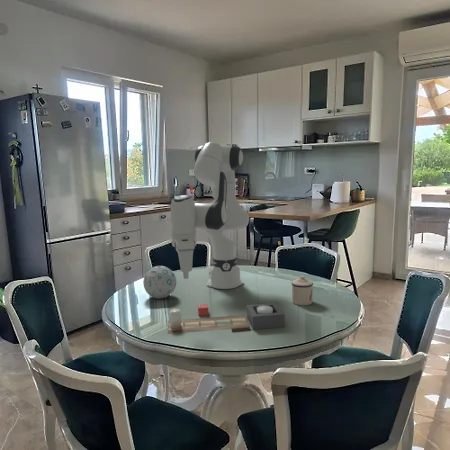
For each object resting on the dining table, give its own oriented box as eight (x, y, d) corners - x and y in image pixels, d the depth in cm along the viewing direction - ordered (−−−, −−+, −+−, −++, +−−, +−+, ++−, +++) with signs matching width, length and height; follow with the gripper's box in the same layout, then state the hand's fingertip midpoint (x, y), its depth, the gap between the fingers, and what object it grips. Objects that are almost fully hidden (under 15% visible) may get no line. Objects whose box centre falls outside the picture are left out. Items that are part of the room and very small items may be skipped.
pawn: (170, 324, 144) (169, 309, 143) (181, 323, 144) (180, 308, 143) (170, 328, 140) (169, 313, 139) (181, 328, 140) (180, 312, 139)
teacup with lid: (314, 305, 162) (314, 279, 160) (293, 306, 162) (293, 279, 160) (309, 296, 173) (309, 271, 172) (289, 296, 174) (289, 271, 172)
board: (168, 323, 148) (168, 320, 148) (244, 317, 151) (244, 314, 151) (167, 336, 136) (167, 333, 136) (250, 329, 140) (250, 327, 140)
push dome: (255, 313, 149) (255, 306, 148) (270, 312, 149) (270, 304, 149) (258, 319, 143) (258, 311, 142) (274, 318, 144) (274, 310, 143)
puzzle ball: (143, 304, 169) (141, 271, 167) (145, 293, 184) (143, 263, 182) (177, 301, 172) (176, 269, 169) (176, 291, 186) (175, 261, 184)
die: (198, 314, 156) (197, 304, 156) (207, 313, 157) (207, 303, 156) (198, 317, 152) (198, 308, 152) (208, 317, 153) (208, 307, 152)
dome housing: (246, 317, 152) (246, 305, 151) (276, 314, 153) (276, 302, 152) (252, 329, 140) (252, 316, 139) (284, 326, 141) (284, 314, 141)
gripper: (174, 236, 147) (176, 271, 149) (175, 246, 127) (177, 286, 129) (191, 235, 148) (192, 270, 150) (194, 245, 128) (196, 284, 130)
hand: (185, 277), depth 139 cm, fingers closed
